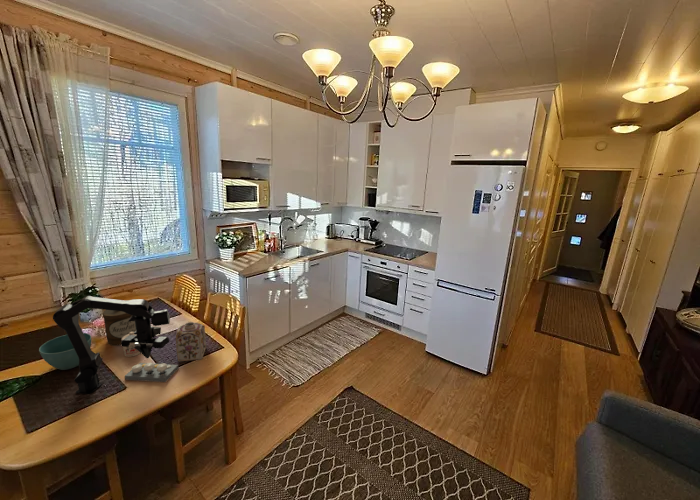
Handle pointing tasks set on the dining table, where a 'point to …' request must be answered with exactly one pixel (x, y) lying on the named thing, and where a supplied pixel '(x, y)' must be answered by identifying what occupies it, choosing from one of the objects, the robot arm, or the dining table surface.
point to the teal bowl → (61, 352)
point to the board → (152, 374)
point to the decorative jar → (190, 342)
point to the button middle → (149, 367)
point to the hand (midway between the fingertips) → (147, 357)
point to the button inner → (137, 368)
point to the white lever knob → (161, 368)
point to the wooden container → (117, 326)
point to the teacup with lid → (130, 347)
